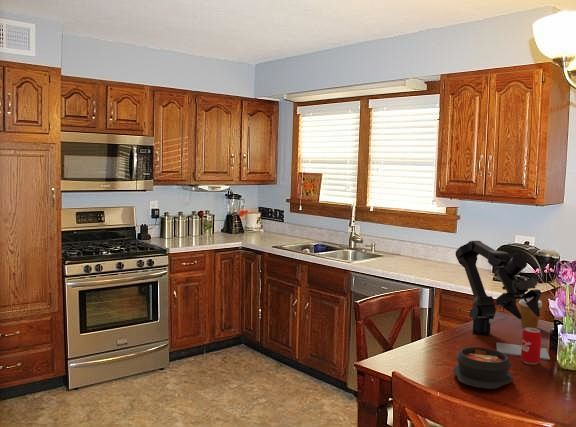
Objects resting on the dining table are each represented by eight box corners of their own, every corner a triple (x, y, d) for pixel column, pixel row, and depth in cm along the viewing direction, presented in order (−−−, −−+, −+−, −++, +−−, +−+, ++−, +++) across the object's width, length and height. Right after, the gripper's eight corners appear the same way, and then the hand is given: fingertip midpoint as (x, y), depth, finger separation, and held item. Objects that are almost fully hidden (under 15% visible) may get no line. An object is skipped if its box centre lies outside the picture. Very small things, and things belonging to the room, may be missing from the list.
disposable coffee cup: (540, 326, 240) (542, 299, 239) (540, 331, 231) (542, 304, 230) (517, 322, 244) (519, 296, 243) (516, 328, 235) (518, 301, 234)
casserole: (460, 362, 192) (461, 339, 191) (516, 372, 183) (518, 348, 182) (444, 386, 170) (446, 360, 169) (508, 399, 161) (510, 372, 160)
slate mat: (496, 353, 202) (497, 351, 202) (496, 343, 213) (496, 342, 213) (549, 360, 196) (550, 358, 196) (546, 350, 207) (546, 348, 207)
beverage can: (523, 357, 198) (525, 325, 197) (541, 362, 194) (543, 329, 193) (518, 362, 193) (520, 329, 192) (536, 366, 189) (539, 333, 188)
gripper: (504, 272, 199) (526, 310, 191) (540, 268, 207) (562, 305, 199) (486, 287, 207) (506, 324, 199) (522, 283, 215) (542, 318, 207)
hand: (530, 317), depth 201 cm, fingers open, 9 cm apart
